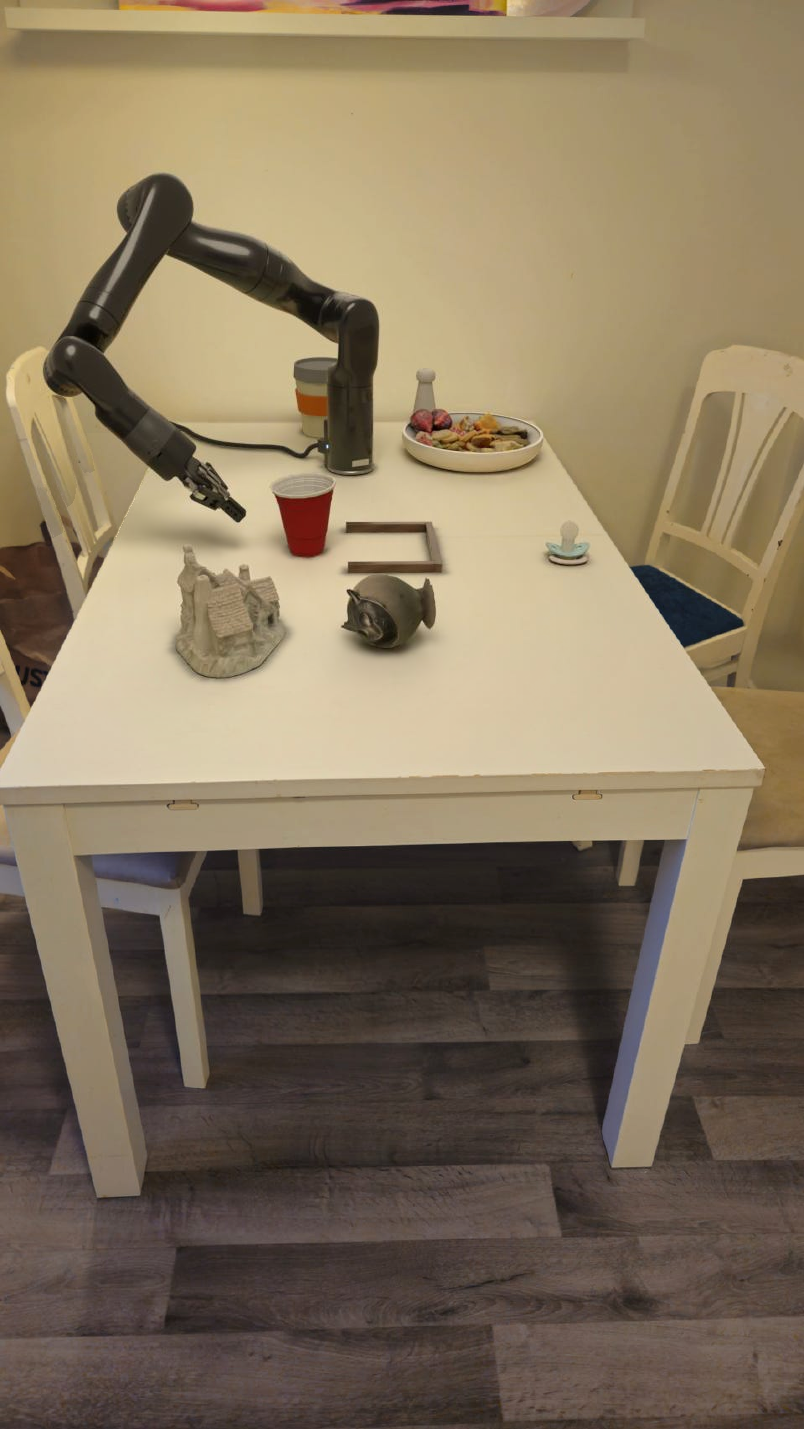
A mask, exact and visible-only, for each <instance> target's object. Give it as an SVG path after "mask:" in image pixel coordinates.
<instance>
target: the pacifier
mask: <svg viewBox="0 0 804 1429" xmlns="http://www.w3.org/2000/svg"><path fill="white" fill-rule="evenodd" d="M578 535H579V526H578V524H577V523H576V522H575V521H574V520H567V521H565V522H564V523H562V525H561V526H560V537H561V545H559V544H556V543H553V542H549V541H546V542H545V546H546V548H547V549H548V550H549V551H551V552H552V553H553V554H550V555H549V557H548V559H549V560H550V561H551V562H553V563H556V564H562V565H580V564H584V563H585V562H587V561H588V559H589V558H588V556H586V555H584V554H585V553H587V552H588V550H590V547H591V546H590V542H588V541H583V542H578V543H575V542H576V541H575V540H576V538H577V537H578Z"/></svg>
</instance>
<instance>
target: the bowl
mask: <svg viewBox="0 0 804 1429" xmlns="http://www.w3.org/2000/svg"><path fill="white" fill-rule="evenodd" d="M412 414H413V413H412ZM544 436H545V434H544V432H543V431H542V429H541V428H540V427H539V426H537V425H536V424H533V423H531V422H530V421H527V420H524V419H521V418H517V417H514V416H510V415H505V414H499V413H498V414H497V413H491V412H478V411H449V412H447V411H446V410H445V409H443V408H436V409H435V410H433V411H432V412H430V411H429V410H426V409H420V410H418V411H416V412H415V413H414V414H413V415H410V419H409V421H408V422H406V423H405V424H404V425H403V426H402V429H401V439H402V443H403V445H404V447H405V449H406V450H407V452H408V453H409V454H410V455H411V456H412V457H413V458H415V459H416V460H418V461H420V462H422V463H424V464H426V465H429V466H432V467H436V468H438V469H443V470H449V471H454V472H463V473H464V472H465V473H493V472H501V471H508V470H511V469H517V468H519V467H521V466H524V465H526V464H527V463H530V462H531V461H532V460H534V458H535V457H536V456H537V455H538V454H540V452H541V449H542V448H543V444H544Z"/></svg>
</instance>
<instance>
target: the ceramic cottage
mask: <svg viewBox="0 0 804 1429" xmlns="http://www.w3.org/2000/svg"><path fill="white" fill-rule="evenodd" d="M182 550H183V553H184V555H183V564H184V565H183V566H184V567H183V569H182V570H181V571H180V573H179V574H178V576H177V580H176V583H177V585H178V586H179V587H180V593H181V599H182V602H181V604H180V608H181V610H180V618H179V619H180V624H181V627H180V629H179V631H178V634H177V637H176V645H175V646H176V648H175V650H176V651H177V652H178V653H179V655H180V656H181V657H182V658H183V659H184V660H185V662H186V663H187V664H188V665H189V666H190V668H191V669H192V670H194V671H195V673H196V674H199V675H202V676H205V677H208V678H209V677H210V678H217V679H220V678H222V679H223V678H231V677H235V676H238V675H242V674H246V673H247V672H250V671H251V670H254V669H256V668H257V667H260V666H262V664H263V663H264V661H265V660H266V659H267V658H268V656H270V655H271V653H272V651H274V649H275V648H276V647H277V646H278V645H279V644H280V642H281V641H282V640H283V639H284V638H285V635H286V630H285V627H284V625H283V623H282V622H281V621H279V617H280V608H281V605H280V602H279V601H280V596H279V594H278V591H277V587H276V585H275V582H274V580H273V579H272V577H271V576H266V577H261V578H258V579H251V575H250V567H249V564H245V563H242V564H240V565H239V566H238V567H239V569H238V576H237V575H236V574H235V573H233V572H232V571H231V570H230V569H228V568H226V567H225V568H224V570H223V571H222V573H217V574H216V573H215V572H213V571H211V570H210V569H208V568H207V567H206V566H203V565H201V564H200V563H199V562H198V561H197V558H196V554H195V552H194V551H193V550H194V549H193V547H192V545H191V544H190V543H185V544H184V545H182Z"/></svg>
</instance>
